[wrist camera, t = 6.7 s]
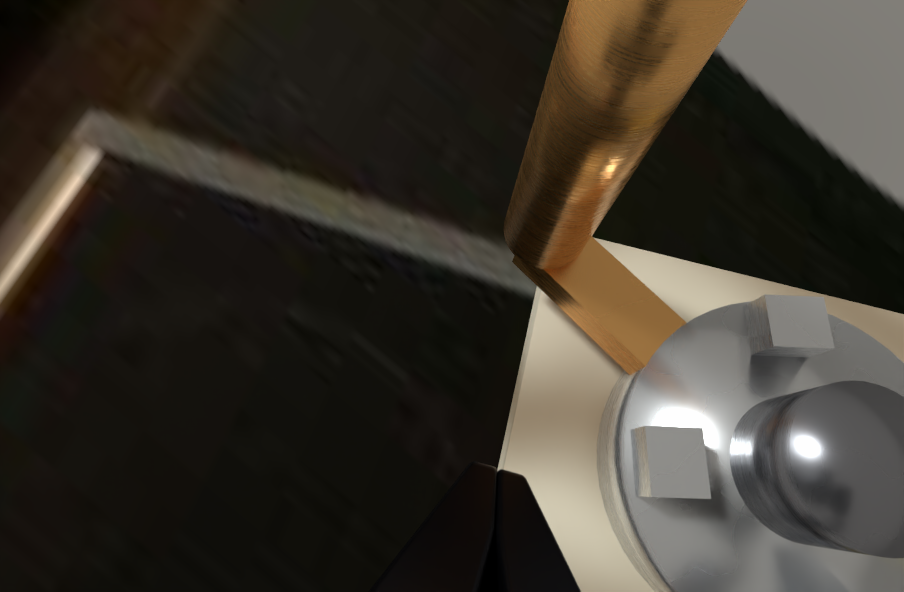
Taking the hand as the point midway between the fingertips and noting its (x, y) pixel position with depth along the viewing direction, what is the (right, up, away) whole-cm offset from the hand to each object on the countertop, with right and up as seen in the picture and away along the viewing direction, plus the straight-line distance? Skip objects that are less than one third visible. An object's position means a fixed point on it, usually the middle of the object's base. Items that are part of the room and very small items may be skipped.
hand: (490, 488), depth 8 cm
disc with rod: (+6, 0, +8) cm, 10 cm away
